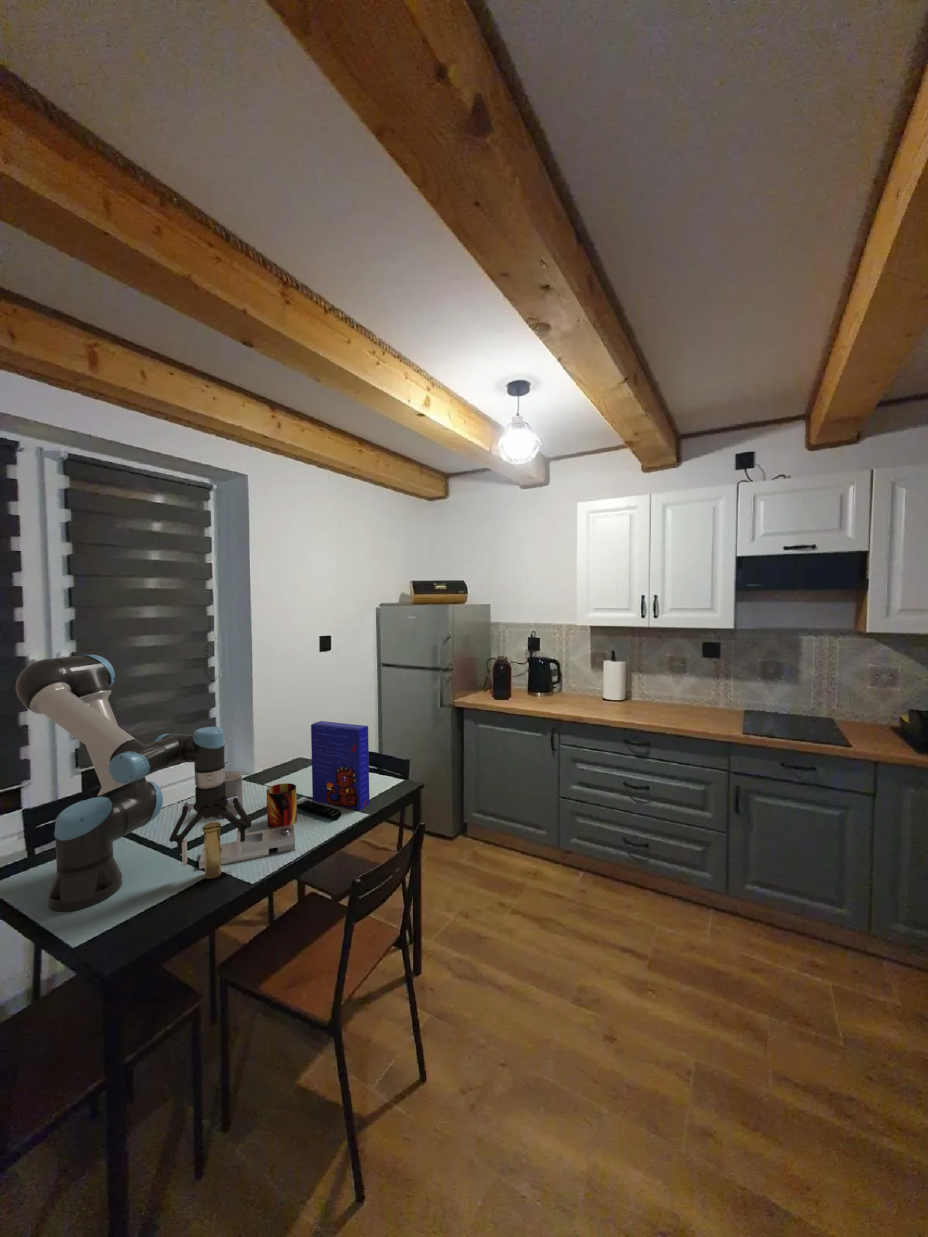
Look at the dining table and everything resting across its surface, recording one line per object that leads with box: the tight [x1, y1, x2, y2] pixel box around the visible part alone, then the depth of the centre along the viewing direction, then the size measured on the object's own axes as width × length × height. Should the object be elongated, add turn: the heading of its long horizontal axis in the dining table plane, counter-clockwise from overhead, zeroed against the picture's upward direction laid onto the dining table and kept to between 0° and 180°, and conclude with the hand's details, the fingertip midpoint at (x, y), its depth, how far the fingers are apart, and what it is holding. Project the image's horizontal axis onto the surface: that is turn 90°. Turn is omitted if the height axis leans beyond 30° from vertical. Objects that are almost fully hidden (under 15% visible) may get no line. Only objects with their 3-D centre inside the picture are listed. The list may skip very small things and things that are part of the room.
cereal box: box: [310, 720, 371, 811], centre depth 178 cm, size 22×6×30 cm, turn 68°
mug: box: [266, 782, 298, 829], centre depth 162 cm, size 10×14×12 cm
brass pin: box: [201, 821, 222, 880], centre depth 132 cm, size 5×5×14 cm
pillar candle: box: [214, 770, 244, 819], centre depth 171 cm, size 10×10×15 cm
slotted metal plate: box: [198, 825, 296, 870], centre depth 144 cm, size 26×9×5 cm, turn 113°
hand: (212, 858), depth 132 cm, fingers open, 13 cm apart
